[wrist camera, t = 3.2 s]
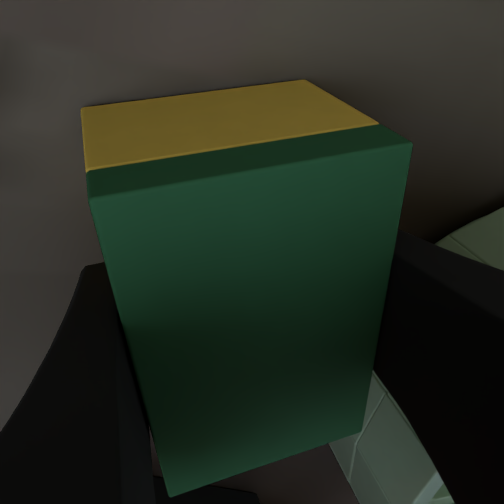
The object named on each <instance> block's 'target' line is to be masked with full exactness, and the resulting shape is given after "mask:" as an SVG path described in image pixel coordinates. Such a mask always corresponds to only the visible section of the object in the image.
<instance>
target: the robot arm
mask: <svg viewBox="0 0 504 504" xmlns="http://www.w3.org/2000/svg"><path fill="white" fill-rule="evenodd" d="M373 371H374V372H375V374H376V375H377V376H378V378H379V379H380V380H381V382H382V383H383V385H384V386H385V387H386V389H387V390H388V391H389V393H390V394H391V396H392V397H393V398H394V400H395V401H396V403H397V404H398V406H399V407H400V409H401V410H402V412H403V413H404V415H405V416H406V418H407V419H408V421H409V422H410V424H411V426H412V428H413V429H414V431H415V433H416V435H417V436H418V438H419V440H420V441H421V443H422V445H423V447H424V448H425V450H426V452H427V454H428V455H429V457H430V459H431V460H432V462H433V464H434V466H435V468H436V470H437V471H438V473H439V475H440V477H441V479H442V481H443V482H444V484H445V486H446V488H447V490H448V492H449V493H450V495H451V497H452V499H453V501H454V503H455V504H504V270H501V269H498V268H495V267H492V266H489V265H487V264H484V263H481V262H478V261H476V260H473V259H470V258H467V257H465V256H462V255H460V254H457V253H455V252H452V251H449V250H447V249H444V248H442V247H440V246H437V245H435V244H432V243H430V242H427V241H425V240H423V239H420V238H418V237H416V236H413V235H411V234H409V233H406V232H404V231H402V230H399V229H398V232H397V237H396V243H395V249H394V254H393V260H392V265H391V271H390V277H389V282H388V288H387V293H386V299H385V304H384V310H383V316H382V321H381V327H380V332H379V338H378V343H377V349H376V355H375V360H374V366H373ZM0 504H156V501H155V492H154V484H153V472H152V460H151V447H150V435H149V423H148V419H147V415H146V412H145V408H144V404H143V401H142V397H141V393H140V390H139V386H138V382H137V379H136V375H135V371H134V368H133V364H132V360H131V357H130V353H129V349H128V346H127V342H126V338H125V335H124V331H123V327H122V324H121V320H120V316H119V313H118V309H117V305H116V302H115V298H114V294H113V291H112V287H111V283H110V280H109V276H108V272H107V269H106V265H105V262H103V263H98V264H93V265H88V266H85V268H84V269H83V270H82V271H81V274H80V277H79V281H78V283H77V286H76V289H75V292H74V295H73V297H72V300H71V302H70V305H69V307H68V310H67V312H66V314H65V317H64V319H63V321H62V323H61V325H60V327H59V330H58V332H57V334H56V336H55V338H54V340H53V343H52V345H51V347H50V349H49V351H48V353H47V354H46V356H45V358H44V360H43V362H42V364H41V365H40V367H39V369H38V371H37V373H36V375H35V376H34V378H33V380H32V382H31V384H30V386H29V387H28V389H27V391H26V393H25V394H24V396H23V397H22V399H21V401H20V402H19V404H18V406H17V407H16V409H15V411H14V412H13V414H12V415H11V417H10V419H9V420H8V422H7V423H6V425H5V426H4V428H3V429H2V431H1V432H0Z"/></svg>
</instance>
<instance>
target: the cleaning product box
mask: <svg viewBox="0 0 504 504" xmlns="http://www.w3.org/2000/svg"><path fill="white" fill-rule="evenodd" d="M153 484H154V492H155V501H156V504H260V502H259V499H258V497H257V494H254V493H248V492H242V491H236V490H230V489H224V488H218V487H212V486H206V485H205V486H202V487H200V488H197V489H194V490H191V491H188V492H185V493H182V494H179V495H176V496H173V497H169V496H168V493H167V489H166V485H165V482H164V478H158V477H153Z"/></svg>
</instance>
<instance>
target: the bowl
mask: <svg viewBox="0 0 504 504" xmlns="http://www.w3.org/2000/svg"><path fill="white" fill-rule="evenodd" d="M435 245H437V246H440V247H442V248H444V249H447V250H449V251H452V252H455V253H457V254H460V255H462V256H465V257H467V258H470V259H473V260H476V261H478V262H481V263H484V264H487V265H489V266H492V267H495V268H498V269H501V270H504V207H502V208H500V209H498V210H496V211H494V212H493V213H491V214H488V215H486V216H483V217H481V218H479V219H476V220H474V221H472V222H470V223H469V224H467V225H465V226H463V227H461V228H459V229H457V230H455V231H453V232H452V233H450V234H449V235H447V236H446V237H444V238H443V239H441V240H440V241H438V242H436V243H435ZM328 445H329V447H330V449H331V451H332V453H333V455H334V457H335V459H336V460H337V462H338V464H339V466H340V468H341V470H342V472H343V474H344V476H345V478H346V480H347V482H348V484H349V486H350V487H351V489H352V491H353V493H354V495H355V497H356V499H357V501H358V503H359V504H455V503H454V501H453V499H452V497H451V495H450V493H449V492H448V490H447V488H446V486H445V484H444V482H443V481H442V479H441V477H440V475H439V473H438V471H437V470H436V468H435V466H434V464H433V462H432V460H431V459H430V457H429V455H428V454H427V452H426V450H425V448H424V447H423V445H422V443H421V441H420V440H419V438H418V436H417V435H416V433H415V431H414V429H413V428H412V426H411V424H410V422H409V421H408V419H407V418H406V416H405V415H404V413H403V412H402V410H401V409H400V407H399V406H398V404H397V403H396V401H395V400H394V398H393V397H392V396H391V394H390V393H389V391H388V390H387V389H386V387H385V386H384V385H383V383H382V382H381V380H380V379H379V378H378V376H377V375H376V374H375V372H374V371H372V377H371V383H370V388H369V394H368V399H367V405H366V410H365V416H364V422H363V427H362V431H361V432H360V433H357V434H354V435H351V436H348V437H345V438H342V439H339V440H336V441H333V442H331V443H328Z"/></svg>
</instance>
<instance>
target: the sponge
mask: <svg viewBox="0 0 504 504" xmlns="http://www.w3.org/2000/svg"><path fill="white" fill-rule="evenodd" d="M81 121H82V133H83V145H84V157H85V169H86V181H87V193H88V203H89V206H90V210H91V214H92V217H93V221H94V225H95V228H96V232H97V236H98V239H99V243H100V247H101V250H102V254H103V258H104V261H105V265H106V269H107V272H108V276H109V280H110V283H111V287H112V291H113V294H114V298H115V302H116V305H117V309H118V313H119V316H120V320H121V324H122V327H123V331H124V335H125V338H126V342H127V346H128V349H129V353H130V357H131V360H132V364H133V368H134V371H135V375H136V379H137V382H138V386H139V390H140V393H141V397H142V401H143V404H144V408H145V412H146V415H147V419H148V423H149V426H150V430H151V434H152V437H153V441H154V445H155V448H156V452H157V456H158V460H159V463H160V467H161V471H162V474H163V478H164V482H165V485H166V489H167V493H168V496H169V497H173V496H176V495H179V494H182V493H185V492H188V491H191V490H194V489H197V488H200V487H202V486H205V485H208V484H211V483H214V482H217V481H220V480H223V479H226V478H229V477H232V476H234V475H237V474H240V473H243V472H246V471H249V470H252V469H255V468H258V467H261V466H264V465H266V464H269V463H272V462H275V461H278V460H281V459H284V458H287V457H290V456H293V455H296V454H298V453H301V452H304V451H307V450H310V449H313V448H316V447H319V446H322V445H325V444H328V443H331V442H333V441H336V440H339V439H342V438H345V437H348V436H351V435H354V434H357V433H360V432H361V431H362V427H363V422H364V416H365V410H366V405H367V399H368V394H369V388H370V383H371V377H372V371H373V366H374V360H375V355H376V349H377V343H378V338H379V332H380V327H381V321H382V316H383V310H384V304H385V299H386V293H387V288H388V282H389V277H390V271H391V265H392V260H393V254H394V249H395V243H396V237H397V232H398V226H399V221H400V215H401V210H402V204H403V198H404V193H405V187H406V182H407V176H408V171H409V165H410V159H411V154H412V148H413V143H412V142H411V141H409V140H407V139H405V138H404V137H402V136H400V135H399V134H397V133H395V132H394V131H392V130H390V129H388V128H387V127H385V126H383V125H381V124H379V123H378V122H377V121H375V120H373V119H372V118H370V117H368V116H367V115H365V114H363V113H361V112H360V111H358V110H356V109H355V108H353V107H351V106H349V105H348V104H346V103H344V102H343V101H341V100H339V99H337V98H336V97H334V96H332V95H331V94H329V93H327V92H325V91H324V90H322V89H320V88H319V87H317V86H315V85H314V84H312V83H310V82H308V81H307V80H304V79H303V80H296V81H288V82H280V83H272V84H264V85H256V86H248V87H240V88H233V89H225V90H217V91H209V92H201V93H193V94H185V95H177V96H170V97H162V98H154V99H146V100H138V101H130V102H122V103H114V104H107V105H99V106H91V107H83V108H81Z"/></svg>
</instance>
